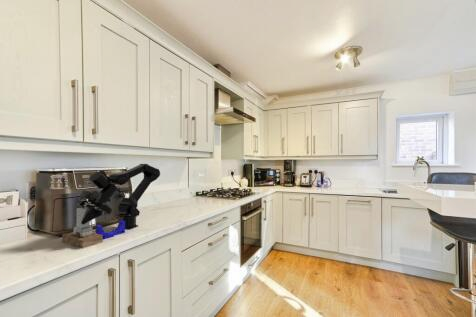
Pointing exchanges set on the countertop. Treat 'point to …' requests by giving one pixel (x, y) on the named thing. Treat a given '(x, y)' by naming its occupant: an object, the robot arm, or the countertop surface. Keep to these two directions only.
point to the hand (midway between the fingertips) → (79, 223)
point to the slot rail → (82, 240)
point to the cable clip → (117, 231)
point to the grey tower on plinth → (82, 229)
